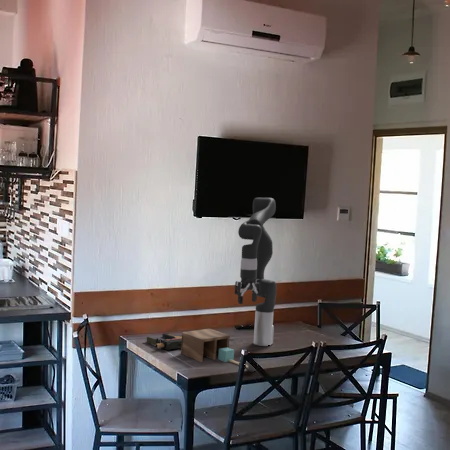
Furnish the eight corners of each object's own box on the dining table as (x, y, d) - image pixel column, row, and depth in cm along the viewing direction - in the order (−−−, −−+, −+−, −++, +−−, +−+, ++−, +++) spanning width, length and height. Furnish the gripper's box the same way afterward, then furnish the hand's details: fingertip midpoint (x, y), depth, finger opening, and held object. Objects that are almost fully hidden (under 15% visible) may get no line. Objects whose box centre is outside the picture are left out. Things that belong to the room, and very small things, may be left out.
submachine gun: (133, 343, 312) (160, 352, 292) (134, 333, 312) (161, 342, 292) (182, 338, 330) (210, 347, 310) (182, 329, 330) (211, 337, 310)
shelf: (208, 349, 304) (209, 328, 303) (228, 356, 293) (229, 335, 292) (180, 353, 293) (182, 332, 293) (200, 361, 282) (201, 339, 281)
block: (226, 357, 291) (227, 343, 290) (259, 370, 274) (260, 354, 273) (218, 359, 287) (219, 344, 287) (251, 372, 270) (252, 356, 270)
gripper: (254, 265, 292) (252, 299, 294) (231, 267, 283) (230, 303, 284) (265, 267, 287) (264, 302, 288) (243, 270, 277) (241, 306, 279)
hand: (247, 302), depth 286 cm, fingers open, 8 cm apart
